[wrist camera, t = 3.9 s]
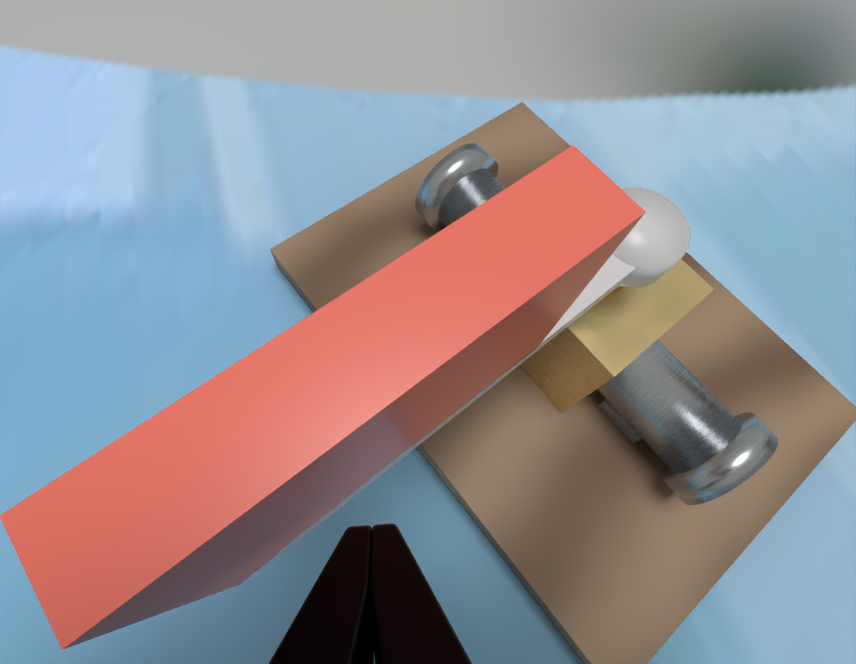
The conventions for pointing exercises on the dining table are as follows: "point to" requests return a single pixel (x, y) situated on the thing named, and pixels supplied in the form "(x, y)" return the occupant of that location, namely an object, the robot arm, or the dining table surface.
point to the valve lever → (333, 401)
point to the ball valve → (624, 356)
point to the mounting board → (590, 433)
